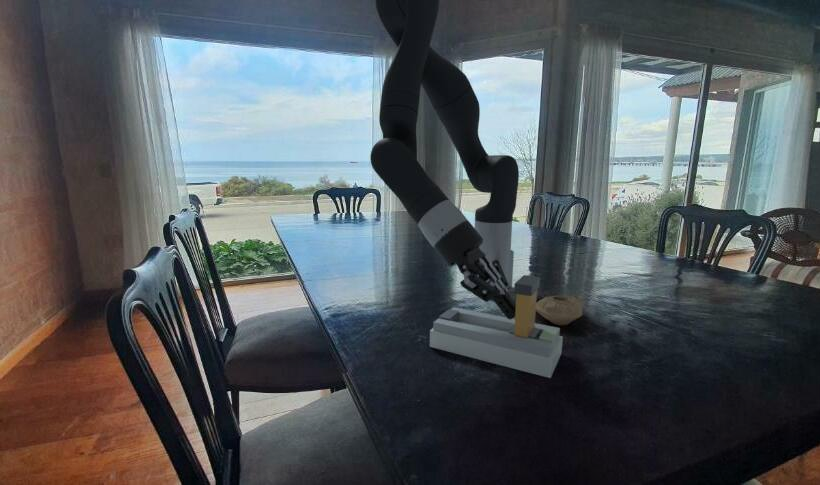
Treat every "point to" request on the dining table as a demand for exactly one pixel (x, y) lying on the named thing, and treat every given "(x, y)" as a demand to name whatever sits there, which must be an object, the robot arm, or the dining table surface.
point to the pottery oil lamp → (560, 308)
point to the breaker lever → (526, 307)
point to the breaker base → (497, 352)
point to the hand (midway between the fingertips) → (515, 315)
